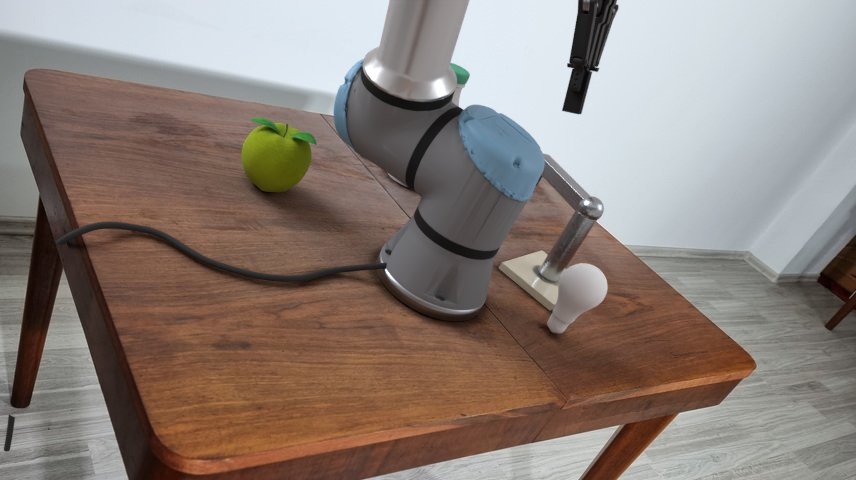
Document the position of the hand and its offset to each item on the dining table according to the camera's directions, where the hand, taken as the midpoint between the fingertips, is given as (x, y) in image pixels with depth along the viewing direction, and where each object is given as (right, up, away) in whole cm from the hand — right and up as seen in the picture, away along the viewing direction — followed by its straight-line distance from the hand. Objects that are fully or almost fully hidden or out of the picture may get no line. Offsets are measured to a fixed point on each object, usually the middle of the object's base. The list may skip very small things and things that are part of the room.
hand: (571, 112), depth 112 cm
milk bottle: (-26, -9, +8) cm, 28 cm away
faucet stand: (-6, -27, -4) cm, 28 cm away
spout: (-7, -22, -1) cm, 23 cm away
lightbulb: (-7, -34, -15) cm, 37 cm away
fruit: (-47, -13, -12) cm, 50 cm away
